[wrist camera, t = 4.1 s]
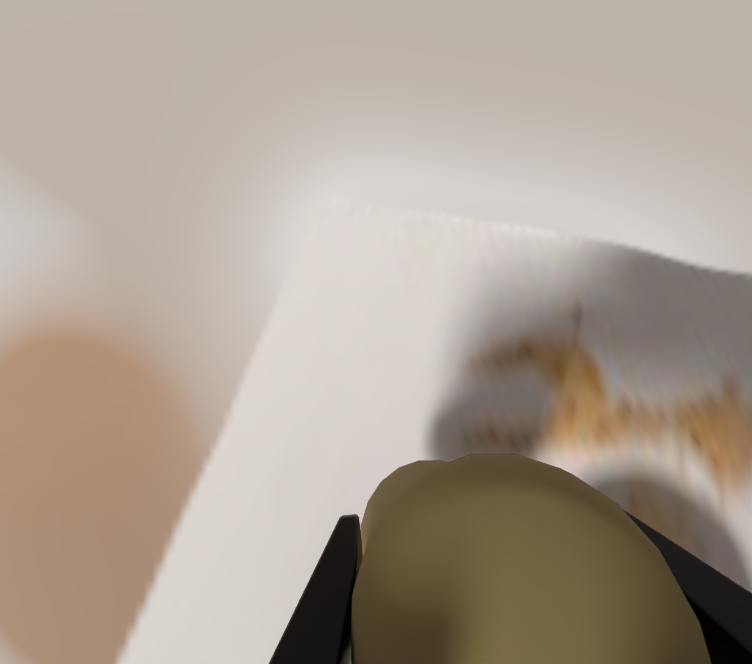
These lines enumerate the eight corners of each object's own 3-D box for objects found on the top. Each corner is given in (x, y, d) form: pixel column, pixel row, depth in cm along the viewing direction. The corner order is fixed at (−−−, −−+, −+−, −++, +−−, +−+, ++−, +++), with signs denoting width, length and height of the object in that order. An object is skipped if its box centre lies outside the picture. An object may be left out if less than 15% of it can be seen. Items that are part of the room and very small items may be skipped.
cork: (350, 472, 15) (287, 452, 5) (486, 448, 16) (674, 385, 6) (372, 648, 13) (335, 1223, 3) (531, 616, 13) (1005, 1037, 3)
